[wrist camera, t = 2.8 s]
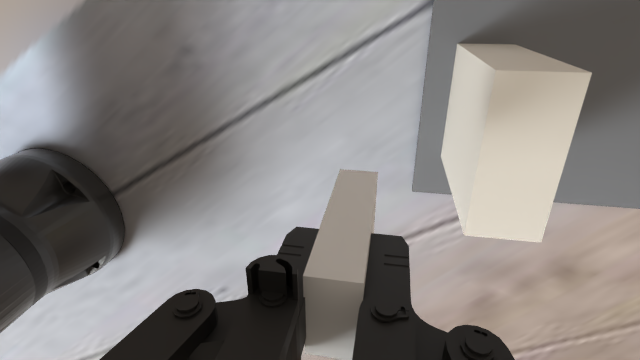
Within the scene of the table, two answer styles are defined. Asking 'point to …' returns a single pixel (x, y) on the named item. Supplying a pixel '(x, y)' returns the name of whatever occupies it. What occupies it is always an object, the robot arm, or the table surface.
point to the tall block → (509, 137)
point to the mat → (564, 45)
